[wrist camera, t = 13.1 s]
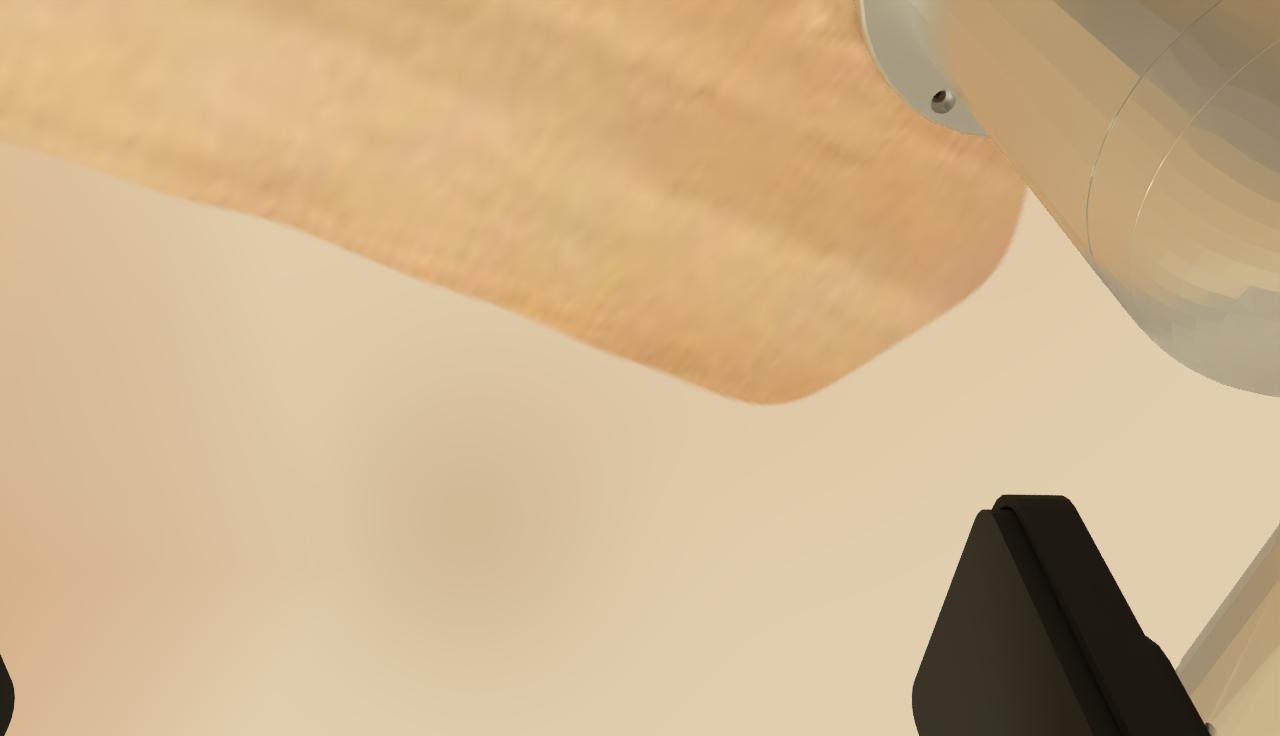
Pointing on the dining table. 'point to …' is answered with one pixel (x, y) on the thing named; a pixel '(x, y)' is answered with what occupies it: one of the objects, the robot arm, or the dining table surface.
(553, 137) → the dining table surface
